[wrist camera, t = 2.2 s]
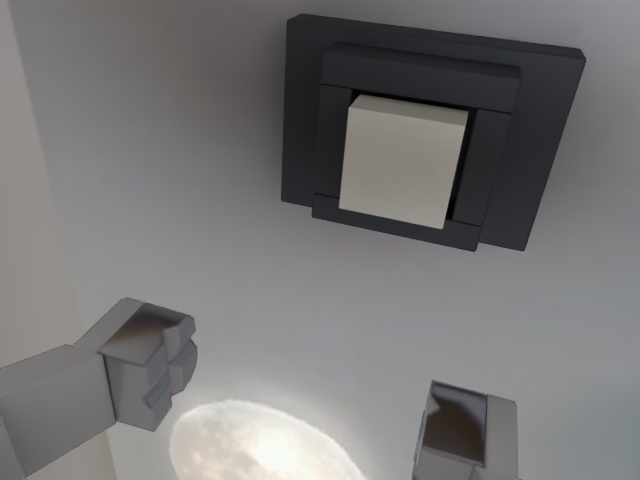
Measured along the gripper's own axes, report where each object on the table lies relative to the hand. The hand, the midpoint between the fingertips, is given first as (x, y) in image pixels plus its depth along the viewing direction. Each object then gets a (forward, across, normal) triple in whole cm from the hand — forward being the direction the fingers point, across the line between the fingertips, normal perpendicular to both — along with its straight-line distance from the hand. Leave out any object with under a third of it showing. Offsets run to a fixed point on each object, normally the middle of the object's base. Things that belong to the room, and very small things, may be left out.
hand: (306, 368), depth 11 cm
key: (+12, 0, 0) cm, 12 cm away
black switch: (+15, 0, 0) cm, 15 cm away
